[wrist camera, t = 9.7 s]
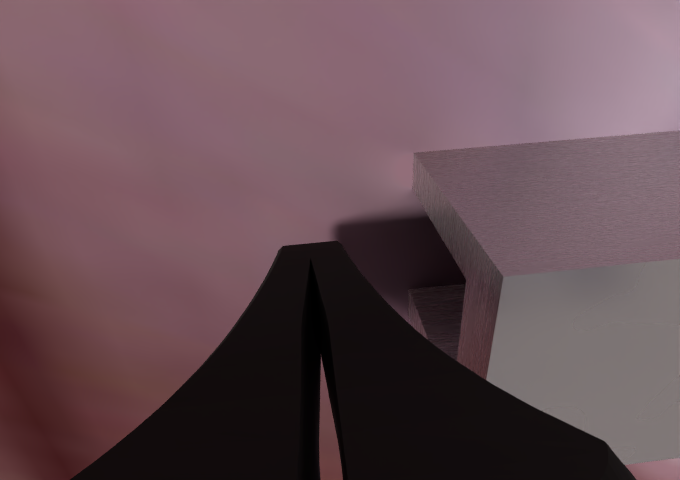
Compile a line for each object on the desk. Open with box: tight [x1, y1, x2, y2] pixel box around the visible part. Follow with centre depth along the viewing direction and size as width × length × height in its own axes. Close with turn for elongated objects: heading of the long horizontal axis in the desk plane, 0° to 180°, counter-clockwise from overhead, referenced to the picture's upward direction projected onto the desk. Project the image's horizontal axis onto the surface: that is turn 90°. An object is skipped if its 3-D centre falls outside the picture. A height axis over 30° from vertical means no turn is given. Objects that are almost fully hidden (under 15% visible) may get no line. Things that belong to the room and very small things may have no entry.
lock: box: [408, 131, 680, 465], centre depth 9 cm, size 8×5×5 cm, turn 93°
